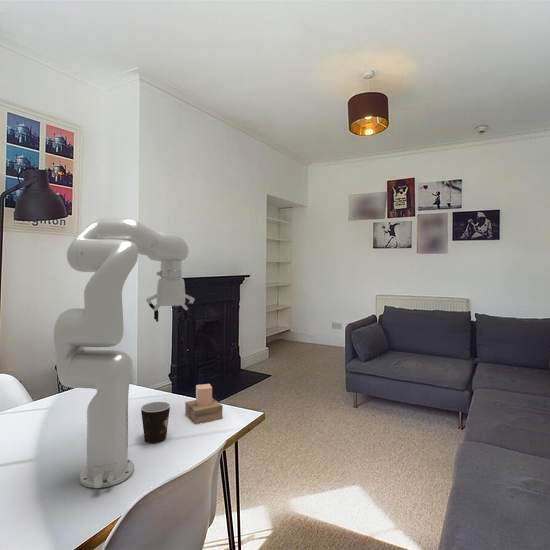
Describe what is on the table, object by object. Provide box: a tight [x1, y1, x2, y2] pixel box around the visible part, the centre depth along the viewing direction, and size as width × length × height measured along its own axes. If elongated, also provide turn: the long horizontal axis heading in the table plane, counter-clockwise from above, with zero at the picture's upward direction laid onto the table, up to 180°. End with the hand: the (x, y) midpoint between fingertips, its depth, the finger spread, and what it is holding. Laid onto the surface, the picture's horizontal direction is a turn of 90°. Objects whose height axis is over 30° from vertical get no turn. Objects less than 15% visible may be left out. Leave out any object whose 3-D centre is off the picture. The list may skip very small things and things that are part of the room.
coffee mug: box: [140, 401, 171, 445], centre depth 113 cm, size 12×9×10 cm
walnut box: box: [184, 397, 223, 425], centre depth 132 cm, size 10×10×5 cm
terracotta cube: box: [195, 383, 213, 406], centre depth 132 cm, size 5×5×6 cm
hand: (170, 320), depth 137 cm, fingers open, 9 cm apart
